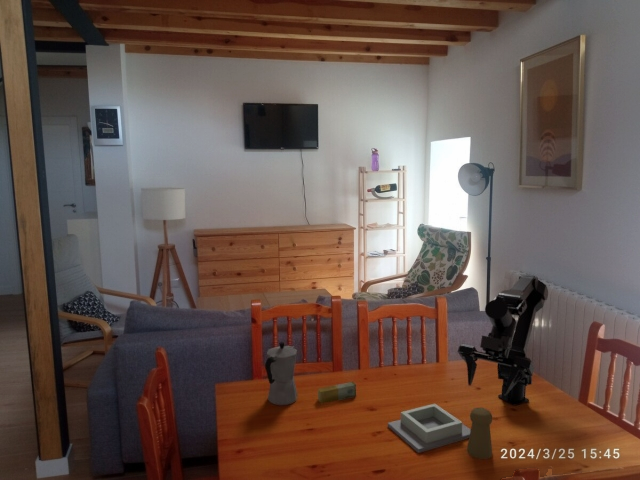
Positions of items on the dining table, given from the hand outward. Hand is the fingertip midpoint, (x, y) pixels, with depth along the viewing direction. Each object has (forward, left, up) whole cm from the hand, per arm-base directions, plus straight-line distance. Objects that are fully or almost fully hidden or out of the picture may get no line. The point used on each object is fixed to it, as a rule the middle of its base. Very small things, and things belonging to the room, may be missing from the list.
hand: (486, 389), depth 127 cm
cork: (+6, +5, -13) cm, 15 cm away
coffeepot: (+41, -42, -13) cm, 60 cm away
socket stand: (+11, -8, -13) cm, 19 cm away
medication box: (+25, -36, -13) cm, 46 cm away
